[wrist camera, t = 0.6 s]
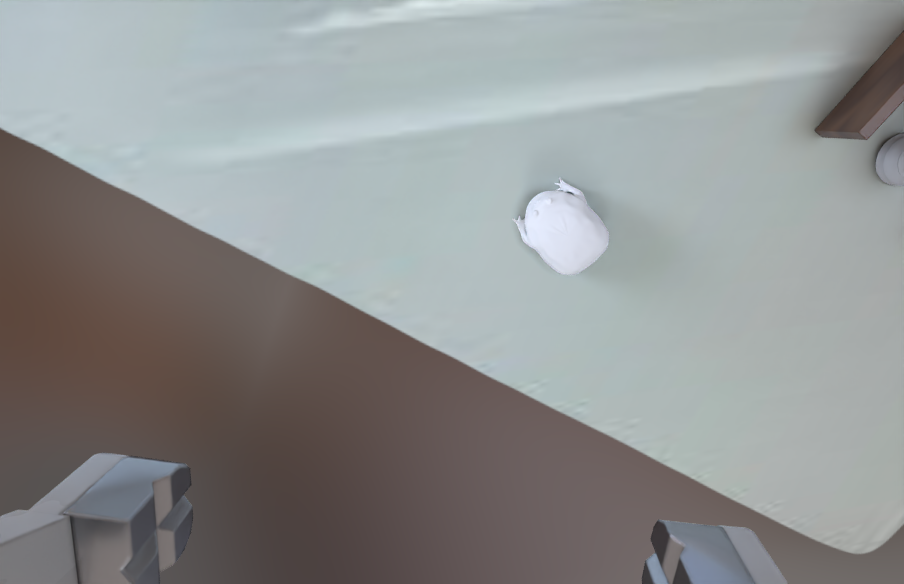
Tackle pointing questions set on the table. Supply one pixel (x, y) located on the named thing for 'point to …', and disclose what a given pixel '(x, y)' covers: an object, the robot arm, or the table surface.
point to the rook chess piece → (892, 161)
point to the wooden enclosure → (869, 98)
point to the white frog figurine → (564, 230)
